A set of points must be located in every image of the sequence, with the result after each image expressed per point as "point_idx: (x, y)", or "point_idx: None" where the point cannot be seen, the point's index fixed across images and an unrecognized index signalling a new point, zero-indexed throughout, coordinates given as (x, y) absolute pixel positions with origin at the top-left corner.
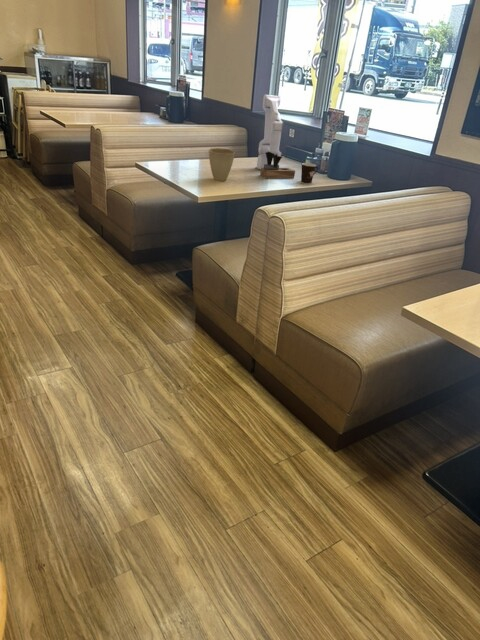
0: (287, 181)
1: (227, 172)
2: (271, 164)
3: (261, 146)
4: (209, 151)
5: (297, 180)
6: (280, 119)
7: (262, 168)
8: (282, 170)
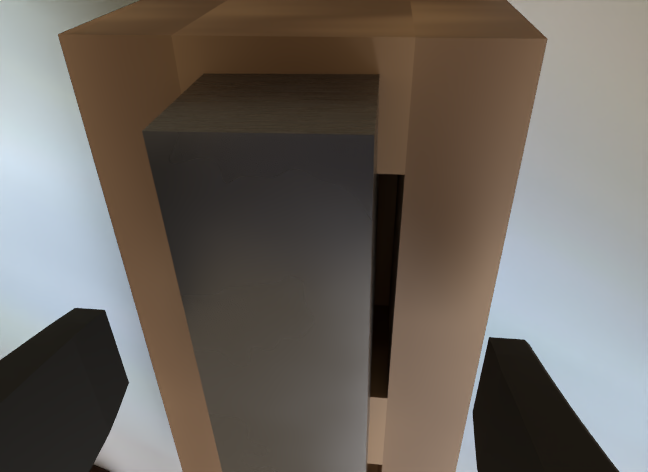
0: (11, 303)
1: None
2: (343, 396)
3: None
4: None
5: (114, 444)
6: None
7: (420, 43)
8: (192, 441)
